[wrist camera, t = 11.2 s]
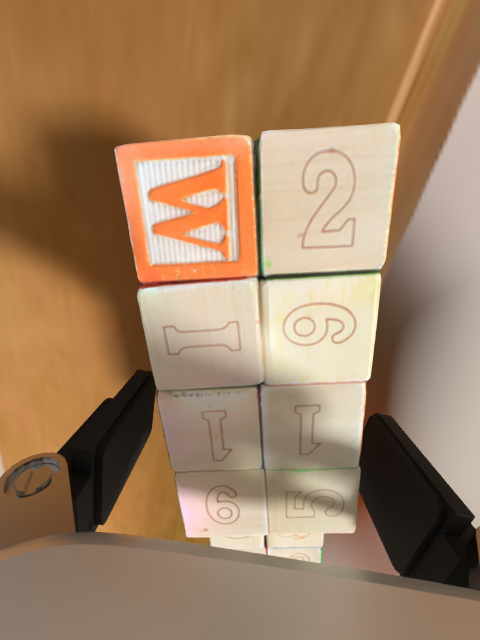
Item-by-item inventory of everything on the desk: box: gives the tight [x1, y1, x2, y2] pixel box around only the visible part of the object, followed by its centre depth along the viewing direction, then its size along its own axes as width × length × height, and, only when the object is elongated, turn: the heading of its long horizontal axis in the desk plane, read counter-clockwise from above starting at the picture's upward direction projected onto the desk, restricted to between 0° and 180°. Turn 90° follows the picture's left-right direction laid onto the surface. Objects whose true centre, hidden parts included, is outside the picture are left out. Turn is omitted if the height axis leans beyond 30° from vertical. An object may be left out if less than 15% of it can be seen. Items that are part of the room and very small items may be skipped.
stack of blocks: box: [114, 122, 401, 563], centre depth 14 cm, size 21×6×12 cm, turn 3°
